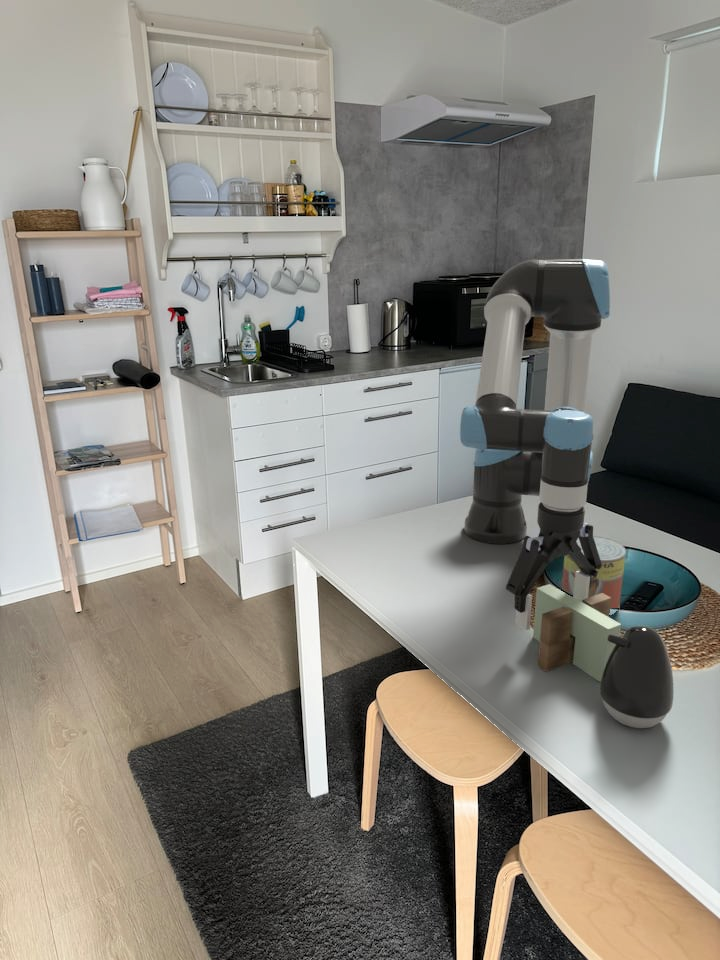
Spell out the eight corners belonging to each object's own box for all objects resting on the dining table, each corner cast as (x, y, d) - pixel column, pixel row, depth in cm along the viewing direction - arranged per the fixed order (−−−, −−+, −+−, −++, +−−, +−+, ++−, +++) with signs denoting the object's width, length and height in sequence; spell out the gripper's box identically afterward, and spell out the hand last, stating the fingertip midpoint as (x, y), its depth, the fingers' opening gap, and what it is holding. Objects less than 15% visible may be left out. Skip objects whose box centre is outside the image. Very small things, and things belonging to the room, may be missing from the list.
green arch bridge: (545, 632, 127) (549, 584, 124) (614, 677, 114) (621, 624, 111) (532, 637, 126) (536, 588, 122) (601, 683, 113) (608, 629, 109)
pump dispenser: (585, 697, 109) (594, 612, 104) (648, 693, 110) (661, 608, 105) (612, 741, 99) (625, 650, 94) (682, 736, 100) (698, 645, 95)
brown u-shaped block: (596, 642, 124) (602, 592, 120) (605, 648, 122) (611, 597, 119) (537, 665, 117) (542, 613, 114) (546, 671, 116) (550, 619, 112)
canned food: (551, 606, 136) (556, 551, 132) (570, 584, 145) (575, 531, 141) (610, 623, 130) (617, 565, 126) (626, 598, 139) (633, 543, 135)
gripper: (597, 484, 124) (586, 590, 131) (488, 511, 113) (482, 625, 120) (631, 497, 118) (617, 607, 125) (520, 526, 107) (511, 645, 114)
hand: (551, 616), depth 122 cm, fingers open, 13 cm apart
